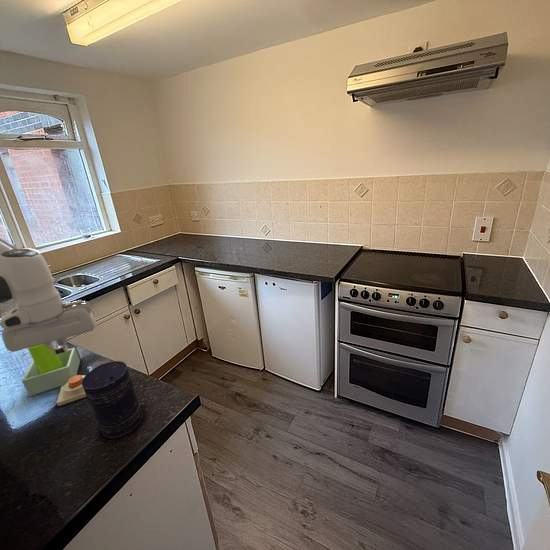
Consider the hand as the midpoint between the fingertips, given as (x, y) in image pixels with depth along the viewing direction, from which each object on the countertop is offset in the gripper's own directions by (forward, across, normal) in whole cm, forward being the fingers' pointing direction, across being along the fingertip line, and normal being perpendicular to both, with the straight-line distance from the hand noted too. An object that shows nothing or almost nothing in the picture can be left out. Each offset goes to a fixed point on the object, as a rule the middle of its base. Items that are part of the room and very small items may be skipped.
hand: (61, 352), depth 84 cm
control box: (+14, -1, 0) cm, 14 cm away
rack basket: (+14, +8, -12) cm, 20 cm away
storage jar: (+14, -13, +20) cm, 27 cm away
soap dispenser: (+14, +8, -12) cm, 20 cm away
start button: (+11, -1, 0) cm, 11 cm away
